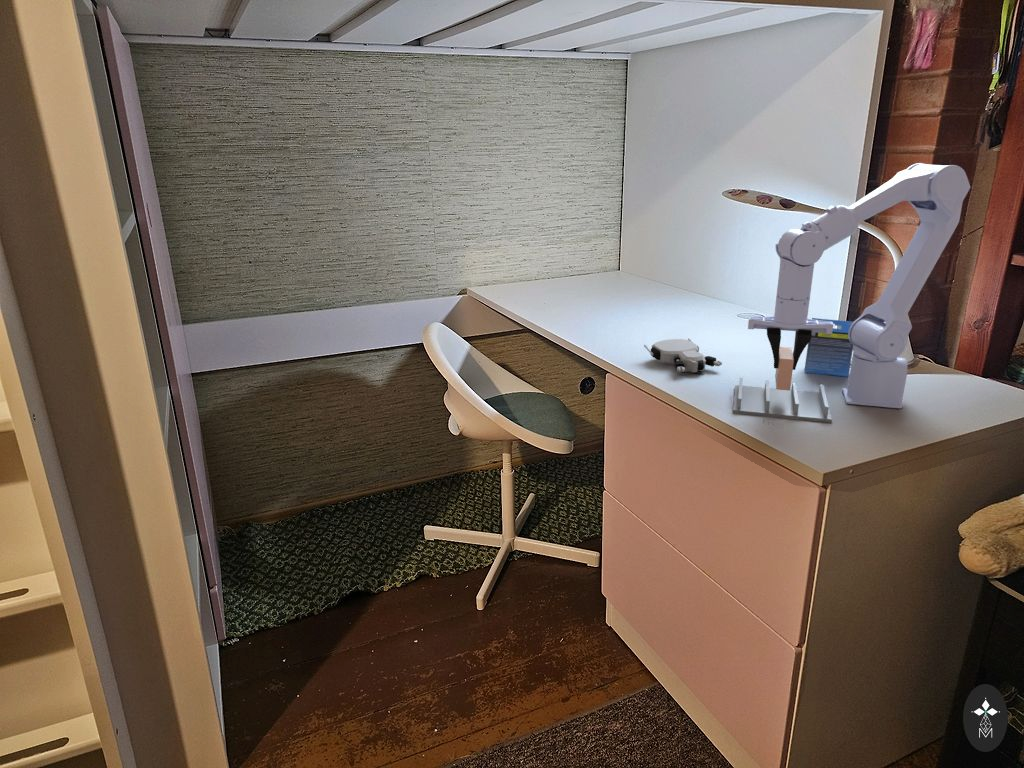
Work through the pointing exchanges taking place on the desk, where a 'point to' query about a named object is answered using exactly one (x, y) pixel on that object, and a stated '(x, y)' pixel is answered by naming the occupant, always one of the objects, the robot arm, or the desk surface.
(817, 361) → the label tape box
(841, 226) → the robot arm
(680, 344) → the robot toy
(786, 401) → the rack
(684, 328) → the desk surface
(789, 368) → the tile
